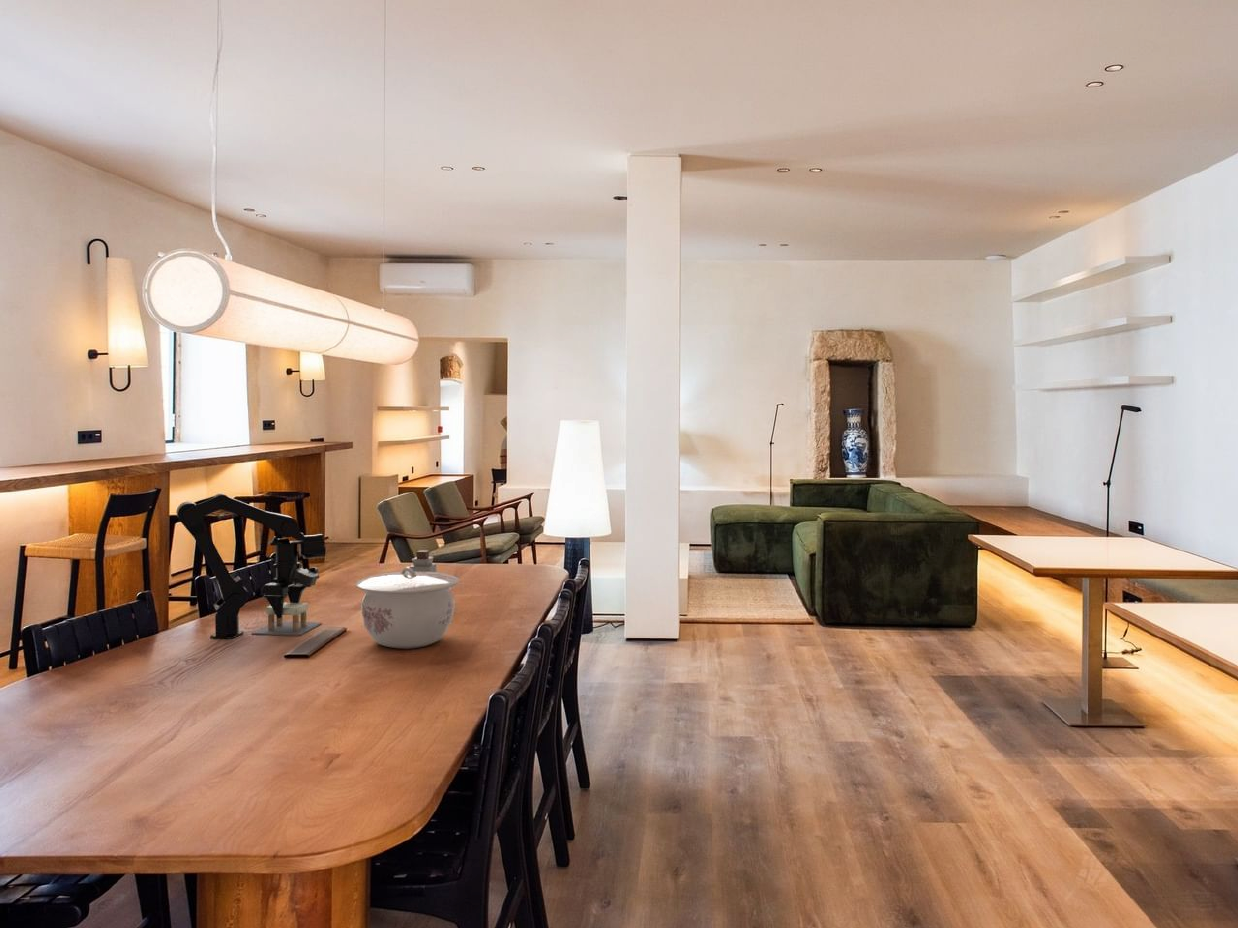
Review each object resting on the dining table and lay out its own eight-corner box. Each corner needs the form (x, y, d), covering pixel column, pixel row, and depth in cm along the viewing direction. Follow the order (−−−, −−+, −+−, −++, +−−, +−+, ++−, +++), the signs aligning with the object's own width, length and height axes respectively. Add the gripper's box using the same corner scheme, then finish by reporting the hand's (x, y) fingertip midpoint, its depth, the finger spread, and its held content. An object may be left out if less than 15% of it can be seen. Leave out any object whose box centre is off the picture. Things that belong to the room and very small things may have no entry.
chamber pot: (435, 659, 216) (435, 577, 215) (335, 652, 221) (334, 573, 220) (475, 632, 243) (475, 559, 242) (386, 627, 249) (385, 556, 248)
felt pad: (300, 635, 238) (300, 634, 238) (251, 634, 239) (251, 633, 239) (321, 623, 252) (321, 622, 252) (276, 622, 253) (276, 621, 253)
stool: (266, 629, 243) (266, 607, 242) (278, 624, 249) (277, 602, 249) (297, 630, 242) (297, 608, 242) (307, 625, 248) (307, 603, 248)
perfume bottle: (436, 604, 279) (436, 549, 278) (429, 609, 272) (429, 552, 271) (416, 604, 280) (416, 549, 279) (409, 608, 273) (408, 552, 272)
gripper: (299, 566, 235) (299, 622, 235) (328, 555, 253) (328, 607, 254) (259, 565, 236) (260, 621, 236) (291, 554, 254) (292, 606, 255)
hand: (287, 614), depth 245 cm, fingers open, 9 cm apart
